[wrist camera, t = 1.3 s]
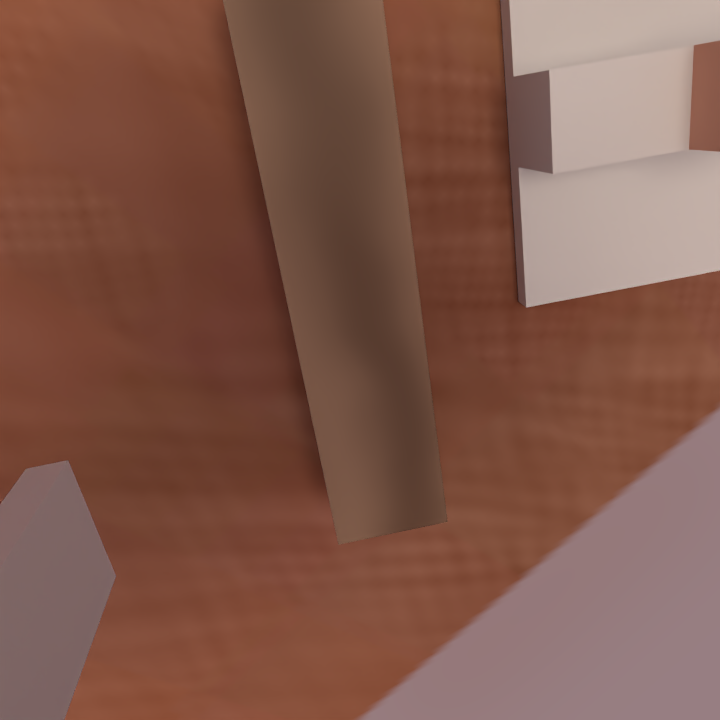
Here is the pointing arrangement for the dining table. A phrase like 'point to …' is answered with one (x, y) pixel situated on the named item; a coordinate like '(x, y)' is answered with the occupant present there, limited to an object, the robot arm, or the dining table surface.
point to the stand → (612, 142)
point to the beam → (344, 251)
